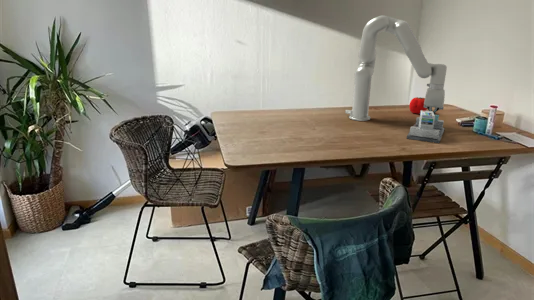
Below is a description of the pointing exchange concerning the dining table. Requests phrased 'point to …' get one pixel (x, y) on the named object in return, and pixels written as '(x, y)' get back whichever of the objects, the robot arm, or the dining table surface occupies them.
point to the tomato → (417, 105)
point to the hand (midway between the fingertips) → (431, 118)
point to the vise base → (425, 134)
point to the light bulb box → (426, 119)
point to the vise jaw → (436, 123)
